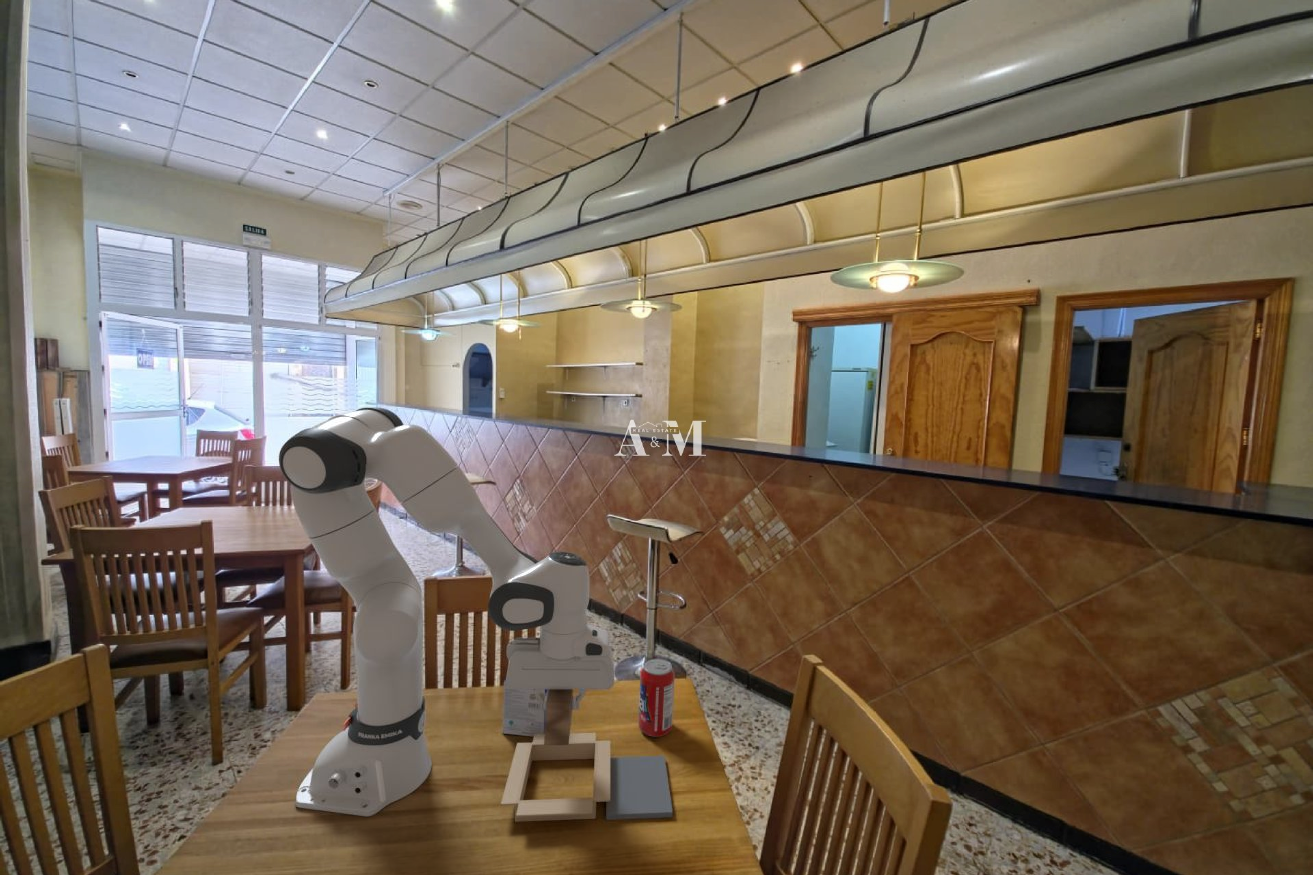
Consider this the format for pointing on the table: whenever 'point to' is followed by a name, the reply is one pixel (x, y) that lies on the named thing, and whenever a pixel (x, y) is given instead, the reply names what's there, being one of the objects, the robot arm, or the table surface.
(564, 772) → the table surface
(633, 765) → the mat
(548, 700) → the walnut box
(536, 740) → the beige hollow square frame
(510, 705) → the ink cartridge box
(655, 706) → the soda can
